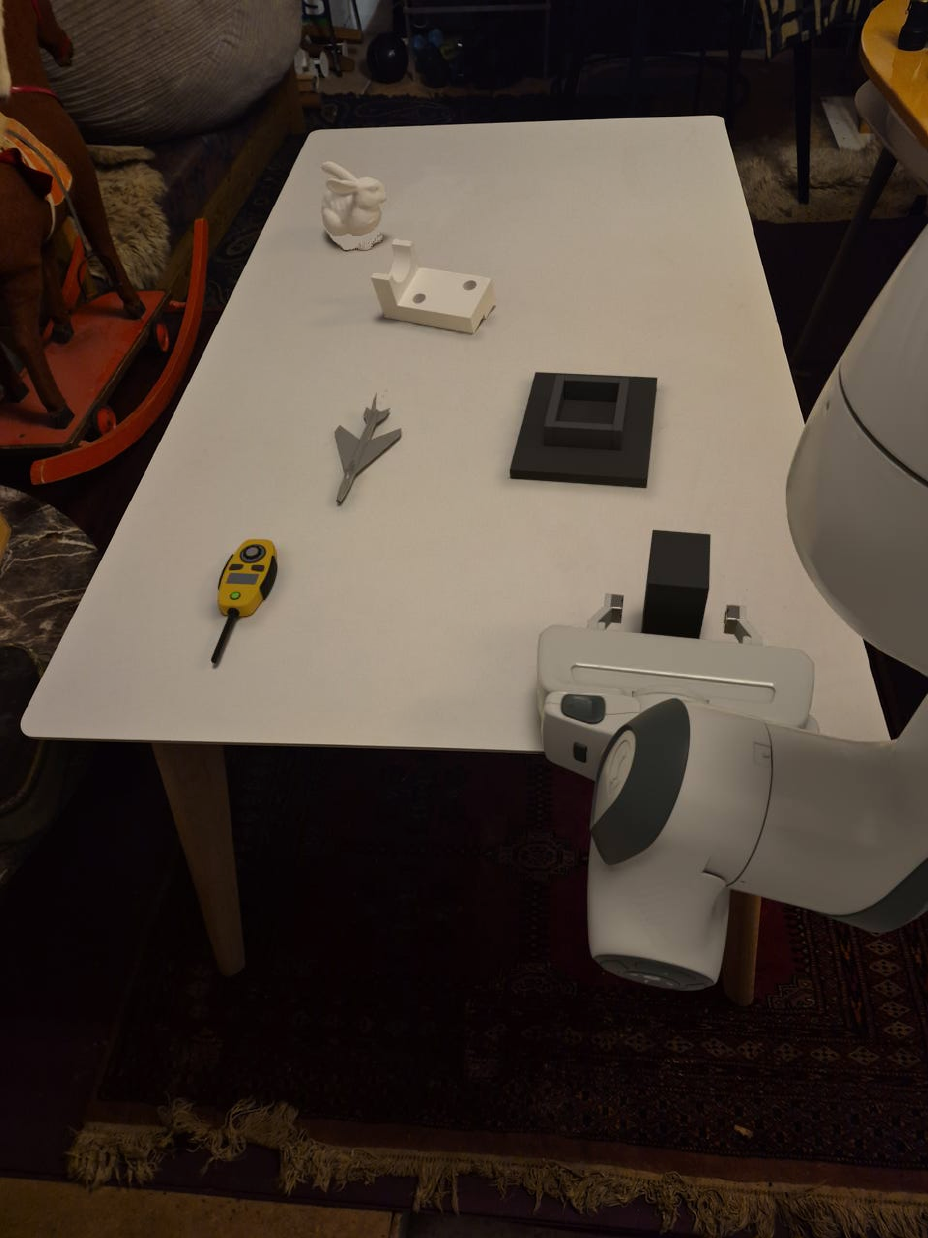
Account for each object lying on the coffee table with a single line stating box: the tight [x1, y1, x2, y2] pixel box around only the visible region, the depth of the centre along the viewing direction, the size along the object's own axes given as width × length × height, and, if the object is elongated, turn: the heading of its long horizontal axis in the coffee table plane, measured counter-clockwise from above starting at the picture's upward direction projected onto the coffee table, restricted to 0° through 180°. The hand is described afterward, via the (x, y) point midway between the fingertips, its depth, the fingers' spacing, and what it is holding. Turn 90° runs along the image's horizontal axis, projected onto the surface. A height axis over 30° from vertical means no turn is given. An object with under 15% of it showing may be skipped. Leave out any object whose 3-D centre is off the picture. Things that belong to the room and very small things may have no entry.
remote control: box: [210, 538, 278, 664], centre depth 79 cm, size 5×2×15 cm
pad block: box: [640, 529, 712, 639], centre depth 70 cm, size 4×6×10 cm
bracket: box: [370, 238, 497, 334], centre depth 110 cm, size 13×7×8 cm, turn 65°
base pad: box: [509, 371, 658, 488], centre depth 92 cm, size 14×18×4 cm
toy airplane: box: [334, 389, 402, 504], centre depth 94 cm, size 8×21×2 cm, turn 169°
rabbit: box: [320, 160, 388, 252], centre depth 124 cm, size 12×9×12 cm
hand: (673, 604), depth 69 cm, fingers open, 8 cm apart
